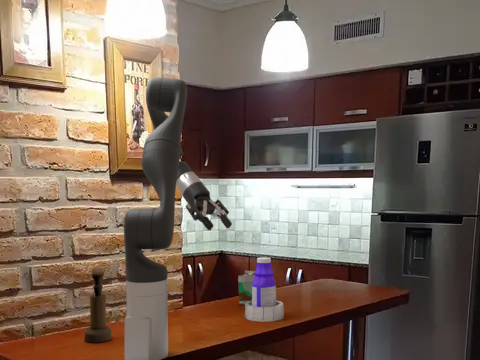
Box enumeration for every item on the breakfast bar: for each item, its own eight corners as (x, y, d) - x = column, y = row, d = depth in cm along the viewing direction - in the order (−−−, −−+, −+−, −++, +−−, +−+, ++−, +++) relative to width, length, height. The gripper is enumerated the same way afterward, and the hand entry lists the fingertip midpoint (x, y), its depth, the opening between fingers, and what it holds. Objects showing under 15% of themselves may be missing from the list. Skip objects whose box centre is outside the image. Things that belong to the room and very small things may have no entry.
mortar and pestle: (101, 334, 134) (101, 265, 134) (116, 338, 129) (116, 267, 130) (79, 340, 128) (79, 268, 129) (94, 344, 124) (94, 270, 125)
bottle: (266, 313, 155) (265, 256, 155) (279, 316, 150) (279, 257, 151) (248, 317, 150) (248, 258, 151) (261, 320, 146) (261, 259, 146)
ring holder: (277, 322, 143) (276, 308, 143) (240, 320, 147) (240, 306, 147) (287, 314, 154) (287, 300, 154) (252, 311, 157) (252, 298, 157)
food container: (257, 307, 163) (256, 276, 163) (238, 307, 164) (238, 275, 165) (263, 299, 175) (262, 270, 175) (245, 299, 176) (245, 270, 177)
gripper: (182, 180, 153) (211, 220, 145) (213, 180, 164) (242, 217, 157) (170, 198, 156) (198, 237, 149) (201, 197, 167) (229, 234, 160)
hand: (220, 227), depth 153 cm, fingers open, 8 cm apart
